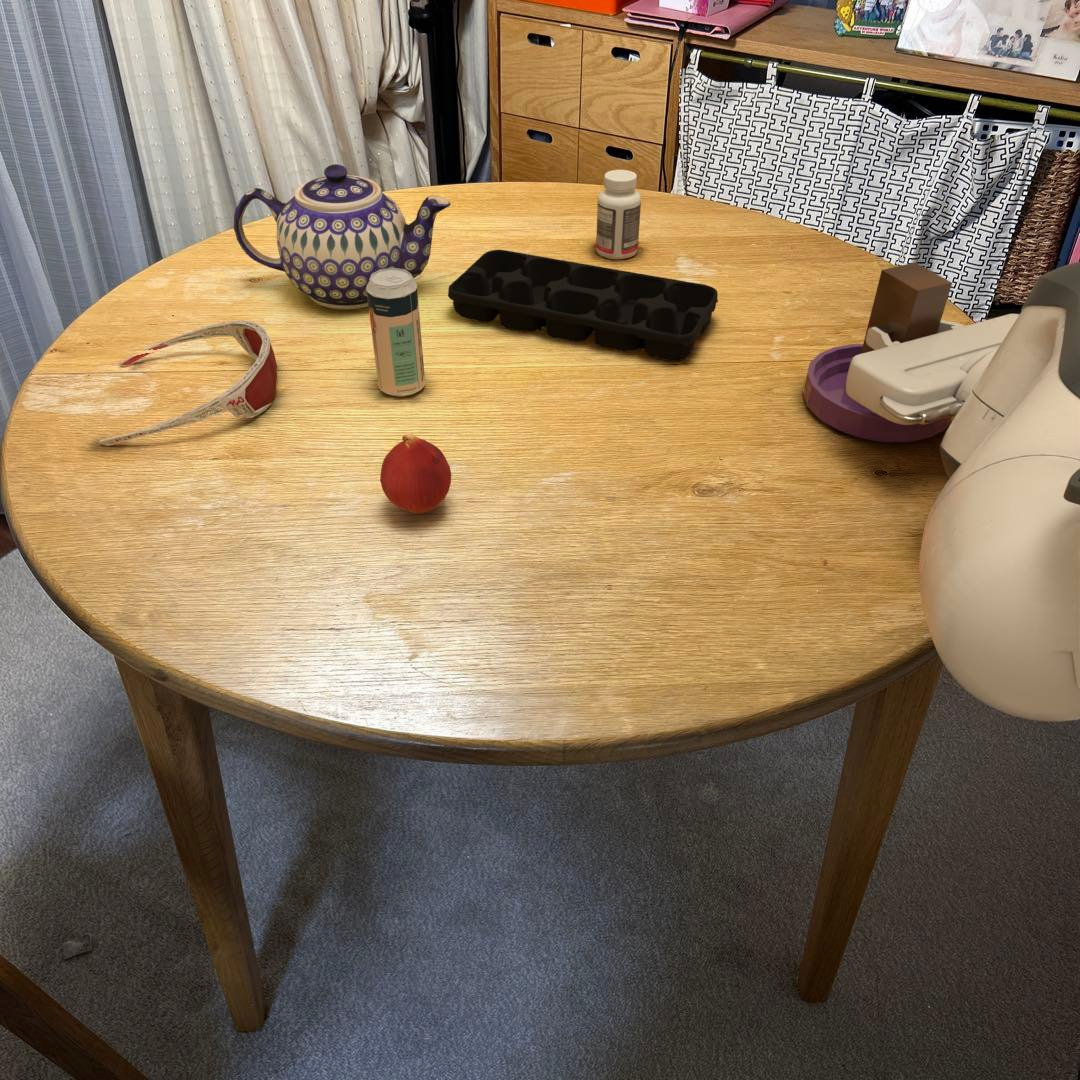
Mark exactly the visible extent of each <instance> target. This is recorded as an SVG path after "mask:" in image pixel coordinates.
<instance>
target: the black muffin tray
mask: <svg viewBox="0 0 1080 1080" xmlns="http://www.w3.org/2000/svg"><path fill="white" fill-rule="evenodd" d="M447 289H448V291H447V297H448V298H449V299H450V300H451V301H452V304H453V309H454V311H455V313H456V314H457V315H459V316H460V317H461V318H463V319H467V320H472V321H475V322H480V323H490V322H492V321H494V320H495V319H496V318H497V317H499V323H500V325H501V327H503V328H505V329H507V330H512V331H519V332H527V333H528V332H529V333H530V332H536V331H542V330H543V329H542V328H545V330H544V331H543V332H546V335H548V336H549V338H553V339H558V340H564V341H569V342H576V343H577V342H585V341H586V340H588V339H589V338H590V336H591V335H592V334H594V336H593V337H594V343H595V344H596V345H597V346H600V347H602V348H606V349H609V350H613V351H620V352H634V351H637V352H639V351H641V350H644V353H645V354H646V355H647V356H648V357H651V358H656V359H660V360H665V361H670V362H676V363H677V362H680V361H685V360H687V358H689V357H690V356H691V354H692V351H693V349H694V345H695V343H696V341H697V339H698V337H699V335H701V334H703V333H704V332H705V331H706V330H707V328H708V327H709V325H710V324H711V322H712V321H711V320H712V315H713V313H714V312H715V310H716V307H717V304H718V303H719V300H718V298H719V297H718V295H719V294H718V290H717V289H716V288H715V287H713V286H710V285H708V284H703V283H698V282H692V281H686V280H681V279H680V280H679V279H676V278H675V279H674V278H668V277H663V276H656V275H650V274H646V273H645V274H644V273H639V272H634V271H633V272H632V271H628V270H627V271H626V270H620V269H615V268H610V267H603V266H598V265H593V264H586V263H580V262H575V261H569V260H563V259H557V258H552V257H547V256H546V257H545V256H541V255H534V254H530V253H524V252H517V251H512V250H505V249H493V250H492V249H491V250H488V251H485V253H483V254H482V255H481V256H479V258H478V259H476V260H475V261H474V263H472V264H471V265H470V266H469V267H468V268H467V269H466V270H465V271H464V272H463V273H461V274H460V276H458V277H457V278H456V279H455V280H454V281H453V282H452V283H451V284H449V286H448V288H447Z"/></svg>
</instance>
